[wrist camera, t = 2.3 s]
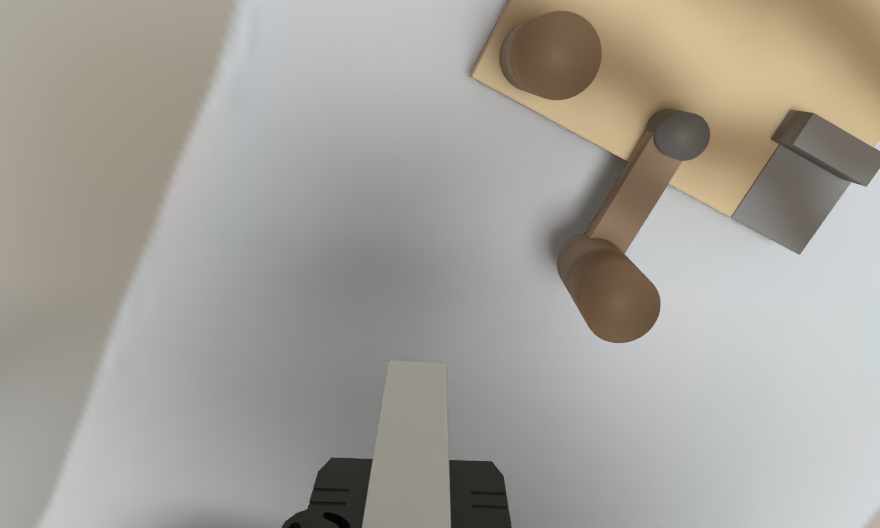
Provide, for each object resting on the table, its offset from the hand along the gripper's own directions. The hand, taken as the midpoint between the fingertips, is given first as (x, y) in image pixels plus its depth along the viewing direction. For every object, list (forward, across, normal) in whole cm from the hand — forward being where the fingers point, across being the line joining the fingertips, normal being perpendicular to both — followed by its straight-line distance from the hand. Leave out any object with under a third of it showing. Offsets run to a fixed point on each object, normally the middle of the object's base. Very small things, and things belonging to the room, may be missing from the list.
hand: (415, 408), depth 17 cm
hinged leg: (+15, +9, +3) cm, 18 cm away
